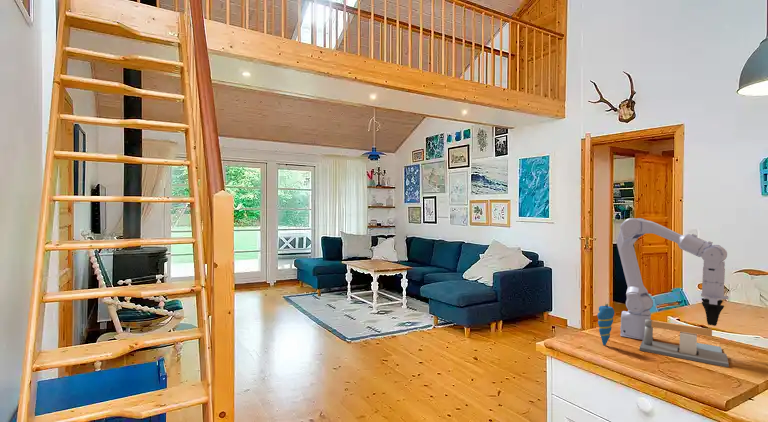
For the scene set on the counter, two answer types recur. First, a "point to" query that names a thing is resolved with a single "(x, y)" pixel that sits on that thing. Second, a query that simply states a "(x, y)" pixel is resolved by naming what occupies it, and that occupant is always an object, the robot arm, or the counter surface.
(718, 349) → the rest pad
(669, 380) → the counter surface
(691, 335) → the plug
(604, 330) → the ornament
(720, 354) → the socket block
